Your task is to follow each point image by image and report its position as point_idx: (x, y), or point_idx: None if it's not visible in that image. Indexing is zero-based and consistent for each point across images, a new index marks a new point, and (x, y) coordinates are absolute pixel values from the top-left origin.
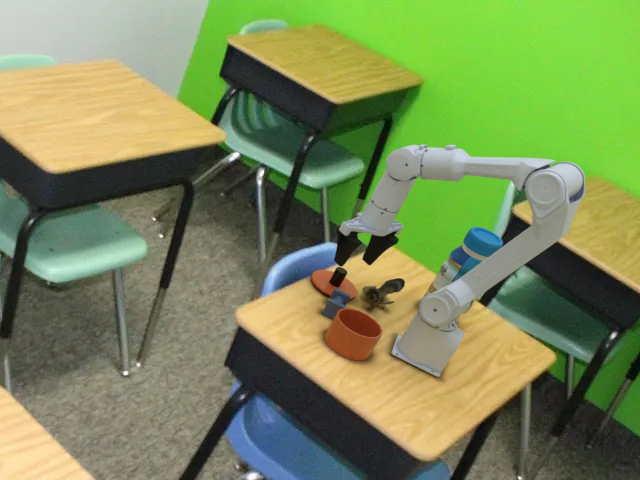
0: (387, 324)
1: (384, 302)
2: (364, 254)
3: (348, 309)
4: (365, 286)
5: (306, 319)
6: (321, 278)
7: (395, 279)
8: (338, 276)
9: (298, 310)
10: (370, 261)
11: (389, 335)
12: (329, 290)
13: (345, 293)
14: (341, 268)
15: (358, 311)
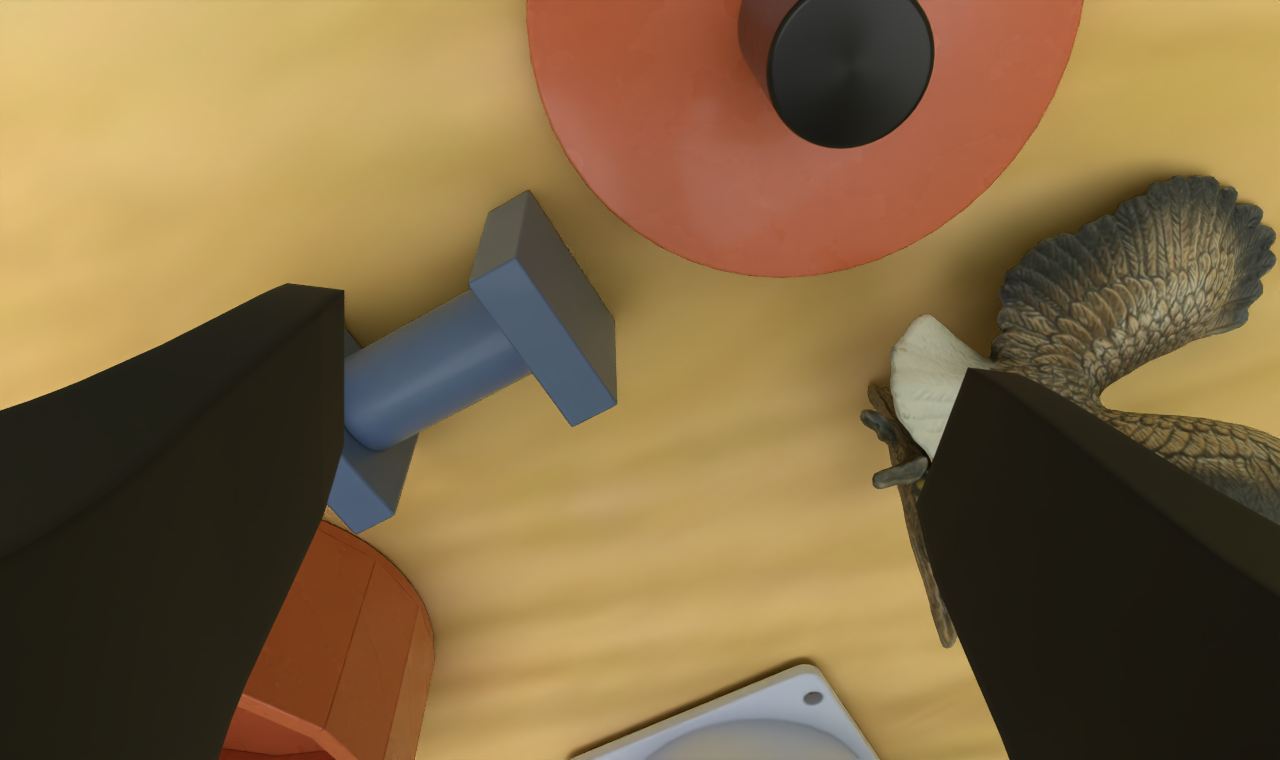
0: (869, 552)
1: (919, 556)
2: (1004, 414)
3: None
4: (892, 390)
5: (59, 350)
6: None
7: None
8: (764, 90)
9: (42, 229)
10: (940, 549)
11: (753, 635)
12: (611, 116)
13: (567, 367)
14: (887, 27)
15: (302, 730)
